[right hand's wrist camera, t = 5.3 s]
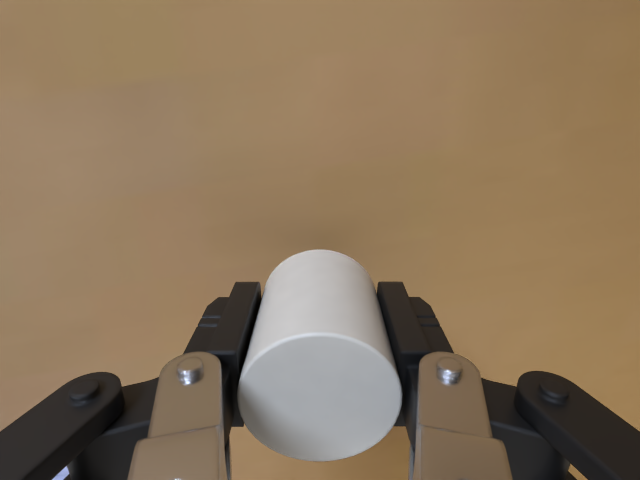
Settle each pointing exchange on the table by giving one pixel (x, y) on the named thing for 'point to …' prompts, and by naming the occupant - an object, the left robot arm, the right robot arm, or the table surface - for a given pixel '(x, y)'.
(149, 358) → the table surface
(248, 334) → the right robot arm
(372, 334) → the can
